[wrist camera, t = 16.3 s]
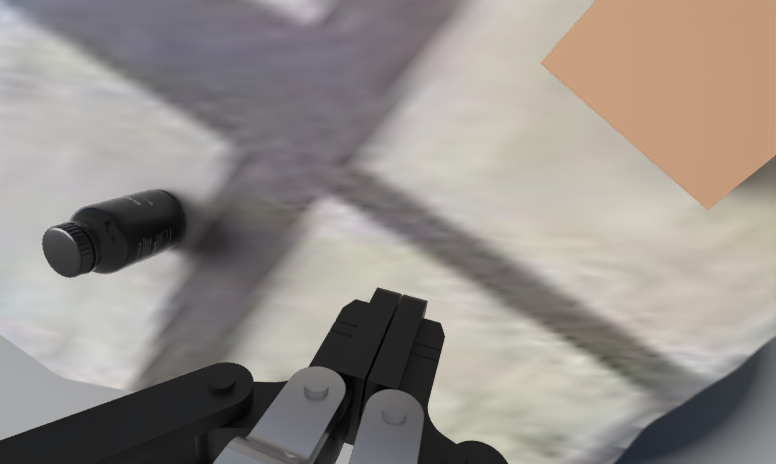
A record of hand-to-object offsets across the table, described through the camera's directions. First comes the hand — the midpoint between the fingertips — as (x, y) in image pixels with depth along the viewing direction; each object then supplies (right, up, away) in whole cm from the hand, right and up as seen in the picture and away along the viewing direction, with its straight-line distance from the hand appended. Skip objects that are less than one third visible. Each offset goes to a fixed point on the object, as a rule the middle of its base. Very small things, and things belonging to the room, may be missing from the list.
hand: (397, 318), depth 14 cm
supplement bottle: (-25, +4, +41) cm, 48 cm away
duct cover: (+20, +14, +14) cm, 28 cm away
